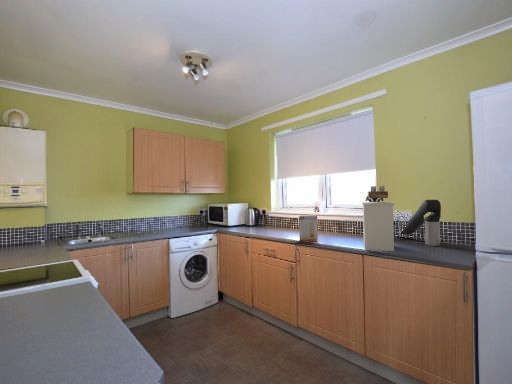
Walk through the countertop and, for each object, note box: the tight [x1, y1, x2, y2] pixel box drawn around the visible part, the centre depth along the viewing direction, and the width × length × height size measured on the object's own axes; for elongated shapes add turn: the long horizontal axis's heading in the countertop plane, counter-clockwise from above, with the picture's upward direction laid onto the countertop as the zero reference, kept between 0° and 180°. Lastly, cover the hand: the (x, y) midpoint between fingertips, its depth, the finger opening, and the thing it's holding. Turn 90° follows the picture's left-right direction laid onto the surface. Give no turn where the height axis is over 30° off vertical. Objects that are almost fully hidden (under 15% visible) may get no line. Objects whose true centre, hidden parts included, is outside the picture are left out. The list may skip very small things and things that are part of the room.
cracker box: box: [298, 214, 319, 242], centre depth 229 cm, size 14×6×21 cm, turn 58°
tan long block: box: [367, 185, 389, 199], centre depth 203 cm, size 34×12×8 cm, turn 161°
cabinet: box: [361, 201, 395, 252], centre depth 198 cm, size 24×19×32 cm
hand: (375, 193), depth 213 cm, fingers closed on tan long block, 4 cm apart
